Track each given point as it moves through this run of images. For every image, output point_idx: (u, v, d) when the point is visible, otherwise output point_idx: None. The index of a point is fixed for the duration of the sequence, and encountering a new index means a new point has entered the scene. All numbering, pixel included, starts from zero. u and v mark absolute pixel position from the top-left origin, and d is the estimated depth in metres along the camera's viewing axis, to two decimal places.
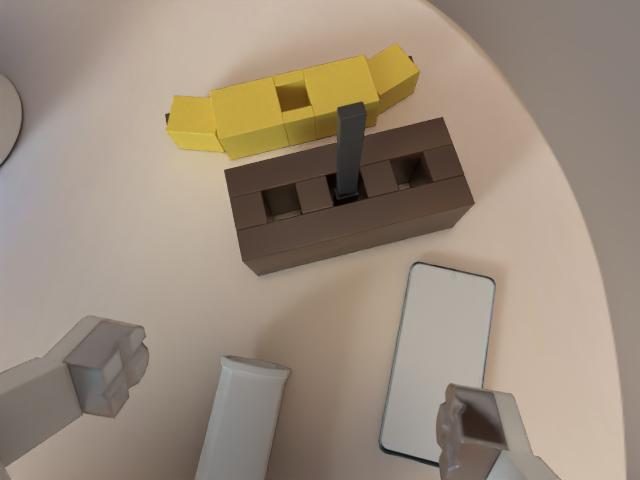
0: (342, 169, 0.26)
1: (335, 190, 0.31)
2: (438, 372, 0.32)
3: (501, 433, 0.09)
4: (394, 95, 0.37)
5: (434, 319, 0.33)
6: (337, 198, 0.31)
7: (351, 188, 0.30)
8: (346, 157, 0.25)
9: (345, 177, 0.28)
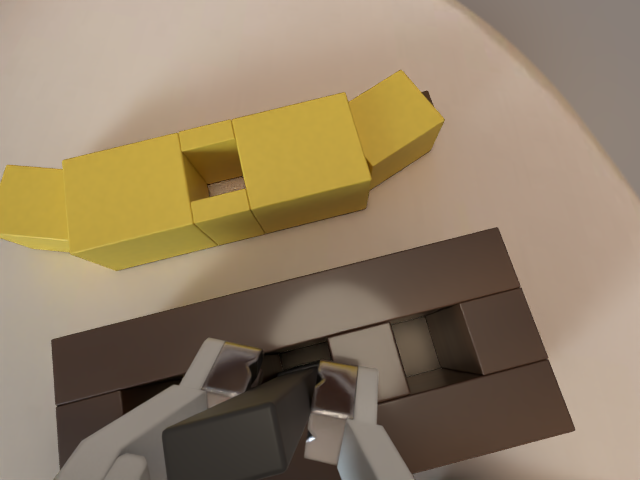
0: None
1: None
2: None
3: (351, 404, 0.09)
4: (399, 161, 0.21)
5: None
6: None
7: None
8: None
9: None
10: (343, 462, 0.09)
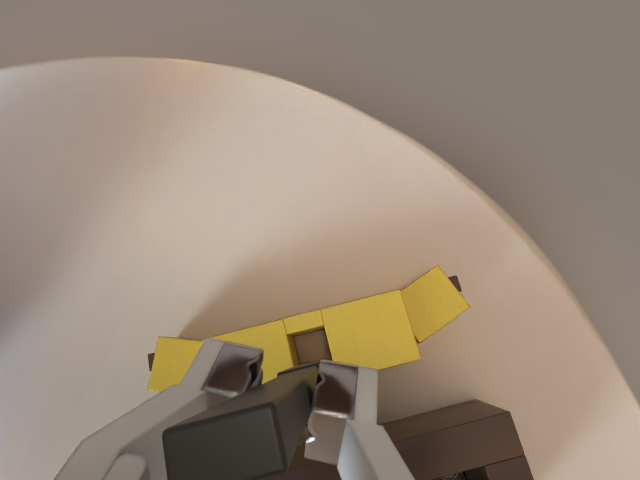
0: None
1: None
2: None
3: (351, 404, 0.09)
4: None
5: None
6: None
7: None
8: None
9: None
10: (343, 462, 0.09)
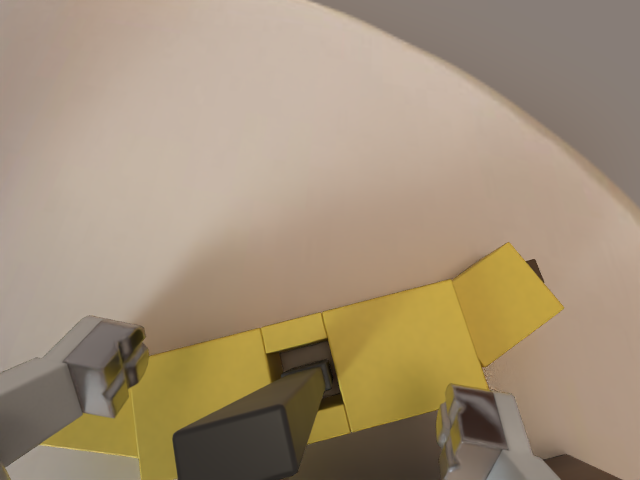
0: None
1: None
2: None
3: (501, 433, 0.09)
4: None
5: None
6: None
7: None
8: None
9: None
10: None
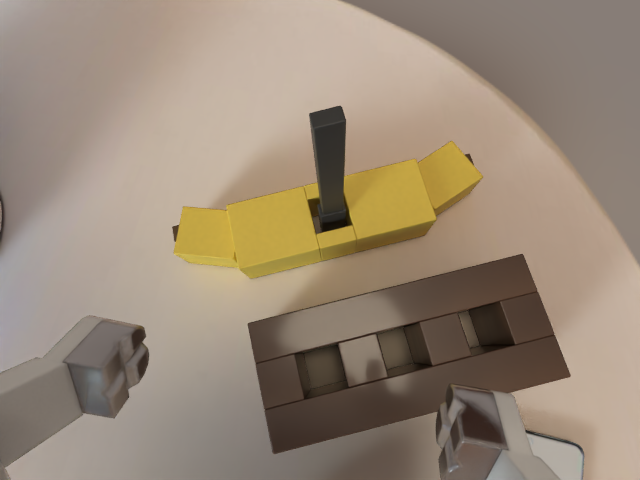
0: (323, 185, 0.22)
1: (319, 206, 0.27)
2: None
3: (501, 433, 0.09)
4: (450, 203, 0.31)
5: None
6: (321, 215, 0.27)
7: (336, 205, 0.26)
8: (326, 171, 0.21)
9: (328, 193, 0.24)
10: None
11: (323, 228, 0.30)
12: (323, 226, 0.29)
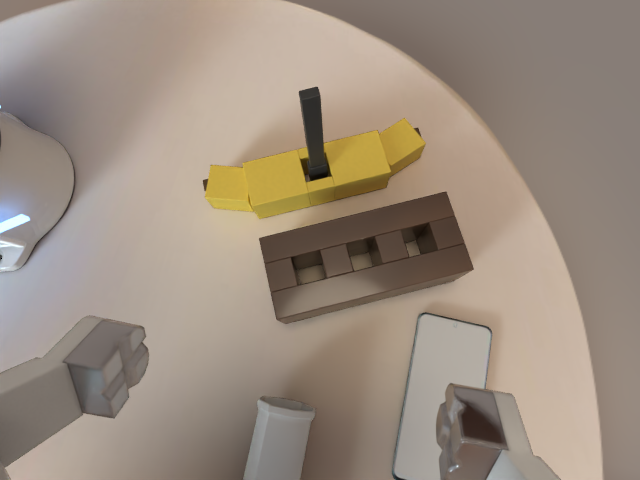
0: (309, 141, 0.34)
1: (308, 162, 0.39)
2: None
3: (501, 433, 0.09)
4: (403, 163, 0.42)
5: (439, 363, 0.38)
6: (309, 168, 0.39)
7: (319, 159, 0.37)
8: (311, 131, 0.32)
9: (313, 149, 0.35)
10: None
11: (311, 180, 0.41)
12: (311, 178, 0.41)
